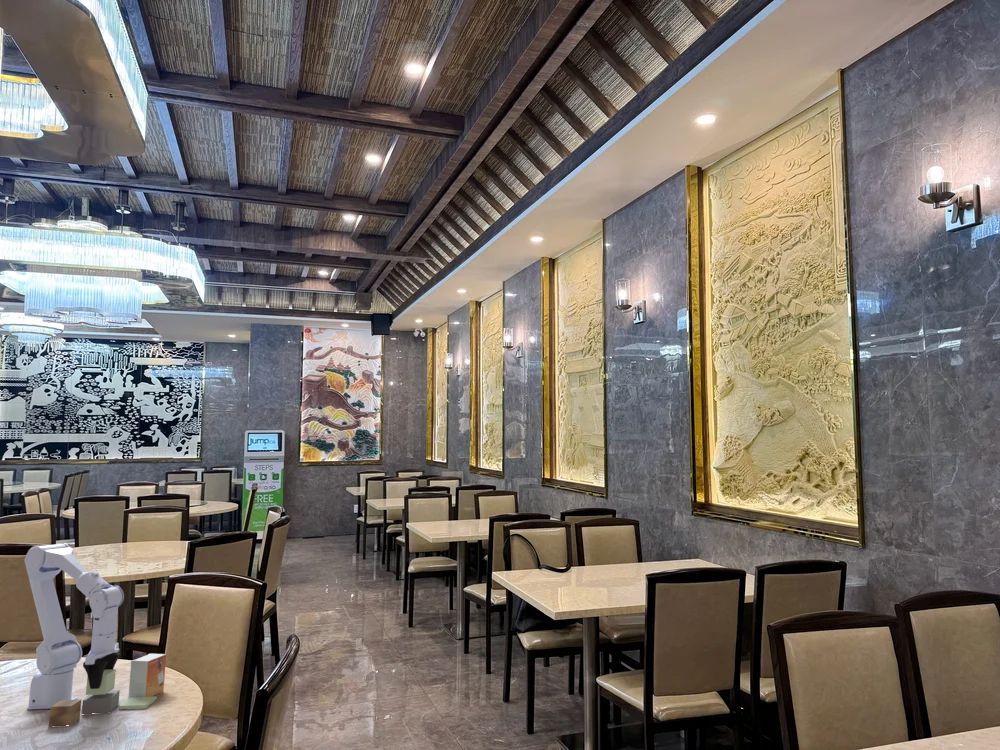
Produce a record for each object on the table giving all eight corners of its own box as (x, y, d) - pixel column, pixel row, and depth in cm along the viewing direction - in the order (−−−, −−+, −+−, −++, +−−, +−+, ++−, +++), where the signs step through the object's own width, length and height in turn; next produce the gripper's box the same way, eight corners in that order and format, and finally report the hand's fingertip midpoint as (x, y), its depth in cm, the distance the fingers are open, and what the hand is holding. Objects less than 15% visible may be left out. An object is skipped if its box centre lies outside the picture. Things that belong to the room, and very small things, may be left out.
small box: (144, 700, 186) (147, 661, 188) (127, 699, 187) (130, 660, 189) (164, 691, 194) (166, 653, 196) (147, 690, 195) (150, 652, 197)
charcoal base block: (81, 716, 175) (82, 700, 176) (90, 707, 182) (91, 692, 182) (110, 713, 177) (111, 697, 178) (118, 704, 184) (119, 689, 184)
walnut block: (48, 727, 167) (50, 706, 168) (59, 720, 172) (61, 700, 173) (69, 726, 167) (71, 706, 168) (79, 719, 172) (81, 699, 173)
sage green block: (85, 694, 177) (87, 675, 178) (95, 688, 182) (96, 669, 183) (105, 694, 177) (107, 674, 178) (114, 688, 182) (115, 669, 183)
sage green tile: (118, 709, 179) (118, 705, 179) (130, 700, 186) (130, 697, 186) (145, 708, 180) (145, 704, 180) (156, 700, 187) (156, 696, 187)
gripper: (106, 639, 175) (102, 693, 173) (131, 626, 189) (127, 676, 187) (78, 639, 174) (74, 694, 172) (105, 627, 189) (101, 677, 187)
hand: (100, 685), depth 180 cm, fingers closed on sage green block, 5 cm apart
